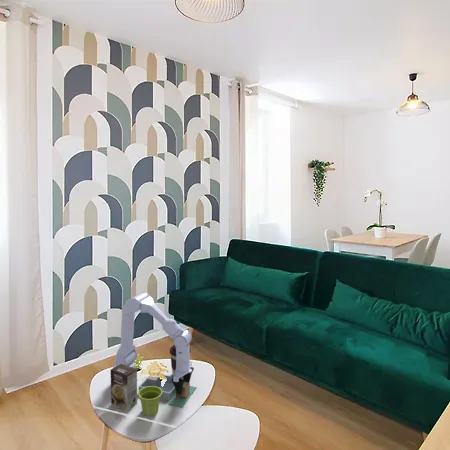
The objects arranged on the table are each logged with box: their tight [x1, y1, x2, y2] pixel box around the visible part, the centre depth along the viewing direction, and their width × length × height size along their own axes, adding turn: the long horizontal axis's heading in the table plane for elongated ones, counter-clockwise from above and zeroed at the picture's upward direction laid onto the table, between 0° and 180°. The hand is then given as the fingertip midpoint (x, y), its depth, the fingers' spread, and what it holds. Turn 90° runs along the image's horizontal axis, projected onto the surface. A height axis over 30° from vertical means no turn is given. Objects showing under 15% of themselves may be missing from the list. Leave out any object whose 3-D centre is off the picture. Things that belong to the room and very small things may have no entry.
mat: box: [168, 385, 197, 408], centre depth 162 cm, size 6×15×1 cm, turn 162°
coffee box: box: [109, 364, 138, 412], centre depth 154 cm, size 9×6×16 cm
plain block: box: [146, 375, 161, 387], centre depth 167 cm, size 4×4×5 cm
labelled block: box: [175, 382, 191, 399], centre depth 161 cm, size 4×4×5 cm
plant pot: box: [137, 386, 162, 417], centre depth 151 cm, size 9×9×9 cm
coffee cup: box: [169, 344, 192, 379], centre depth 178 cm, size 10×10×15 cm
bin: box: [138, 374, 176, 401], centre depth 167 cm, size 15×12×4 cm
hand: (182, 388), depth 161 cm, fingers open, 7 cm apart
